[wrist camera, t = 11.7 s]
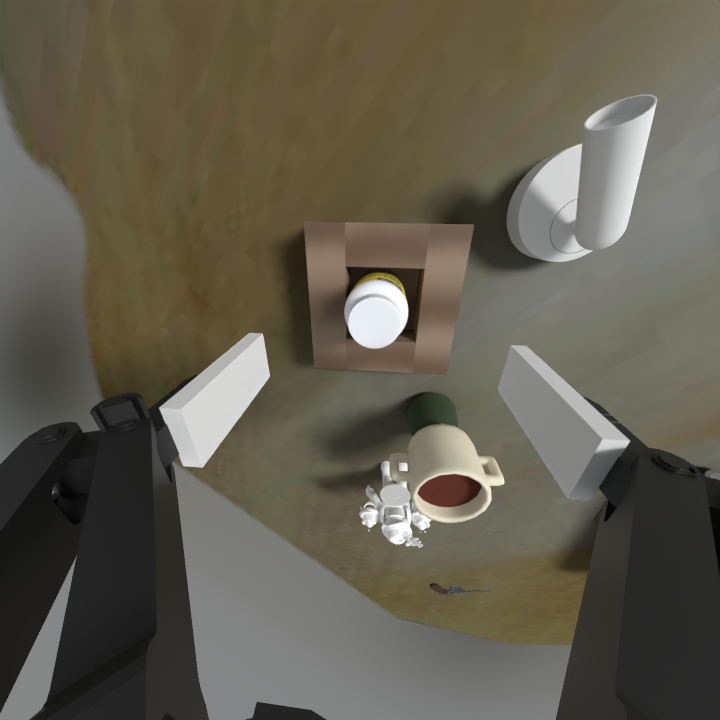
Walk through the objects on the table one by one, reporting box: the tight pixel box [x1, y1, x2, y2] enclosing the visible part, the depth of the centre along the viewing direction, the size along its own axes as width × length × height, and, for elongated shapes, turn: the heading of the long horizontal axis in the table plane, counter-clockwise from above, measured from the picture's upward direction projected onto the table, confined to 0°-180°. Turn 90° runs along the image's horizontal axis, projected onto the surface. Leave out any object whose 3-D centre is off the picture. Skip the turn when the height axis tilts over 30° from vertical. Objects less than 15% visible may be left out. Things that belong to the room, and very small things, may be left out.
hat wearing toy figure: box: [359, 461, 431, 548], centre depth 36 cm, size 9×4×12 cm, turn 93°
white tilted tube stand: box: [507, 95, 657, 262], centre depth 20 cm, size 9×10×10 cm
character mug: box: [389, 393, 504, 523], centre depth 30 cm, size 11×7×13 cm, turn 92°
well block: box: [304, 222, 474, 375], centre depth 27 cm, size 14×14×4 cm
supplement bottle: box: [344, 270, 408, 349], centre depth 24 cm, size 5×5×10 cm
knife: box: [430, 583, 490, 594], centre depth 55 cm, size 14×4×1 cm, turn 104°
